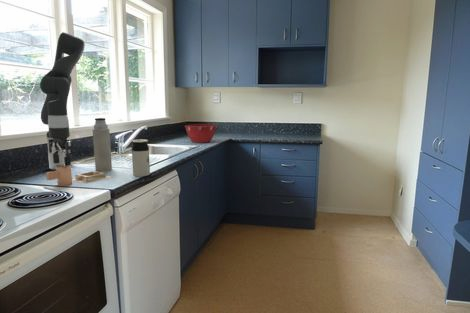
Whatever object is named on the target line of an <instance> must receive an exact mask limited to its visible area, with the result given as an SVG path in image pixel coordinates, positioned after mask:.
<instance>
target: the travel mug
mask: <svg viewBox="0 0 470 313" xmlns="http://www.w3.org/2000/svg"><path fill="white" fill-rule="evenodd" d="M148 141H149V140H148V139H144V138H143V139H142V138H141V139H140V138H139V139H133V140H131V142H132V146H131V159H132V160H131V161H132V176H134V177H146V176H149V175H151V169H150V168H151V167H150V146H149V144H148Z"/></svg>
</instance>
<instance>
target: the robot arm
mask: <svg viewBox="0 0 470 313" xmlns="http://www.w3.org/2000/svg"><path fill="white" fill-rule="evenodd" d="M85 46H86V44H85V40H83V39H82V38H81V37H78V36H75V35H72V34H70V33H67V32H64V31H63V32H61V33H60V34H59V36H58V40H57V45H56V50H55V51H56V52H55V57H54V62H53V66H52V68H51V70H50V71H48V72H47V73H46V74H44V75H43V77H42V78H41V80H40V82H39V87H40V90H41V92H42V93H43V94H45V95H46V97H45V99H44V103H43V105H42V108H41V112H40V120H41V122H42V124H43V125H46V126H48V131H47V132H46V142H47V157H48V166H49V169H50V170H56V165H60V164H65V166H69V165H72V164H71V157H72V156H74V146H73V141H72V140H69V141H68V138H70V135H71V134H70V123H69V117H68V106H67V105H68V98H69V94H70V88H71V85H72V81H73V80H72V75H71V74H72V72H73V69H74V67H75V66H76V65H77V63H78V62H79V61H80V59H81V57H82V55H83V54H84V51H85ZM65 55H66V56H65Z"/></svg>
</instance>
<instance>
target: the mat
mask: <svg viewBox="0 0 470 313" xmlns="http://www.w3.org/2000/svg"><path fill="white" fill-rule="evenodd" d="M43 189H44V190H49V191H52V192H57V193H59V192H60V193H62V191H61V190H56V189H53V188H50V187H45V186H43Z"/></svg>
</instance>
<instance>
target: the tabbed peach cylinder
mask: <svg viewBox="0 0 470 313" xmlns="http://www.w3.org/2000/svg"><path fill="white" fill-rule="evenodd" d="M71 165H72V164H71ZM71 165H69V166H65V164H60V165H56V169H55V170H54V171H53V170H52V171H47V172H46V173H45V174H46V181H52V180H57V186H58V187H68V186H72V185H73V180H72V178H73V174H72V173H73V172H72V166H71Z"/></svg>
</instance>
